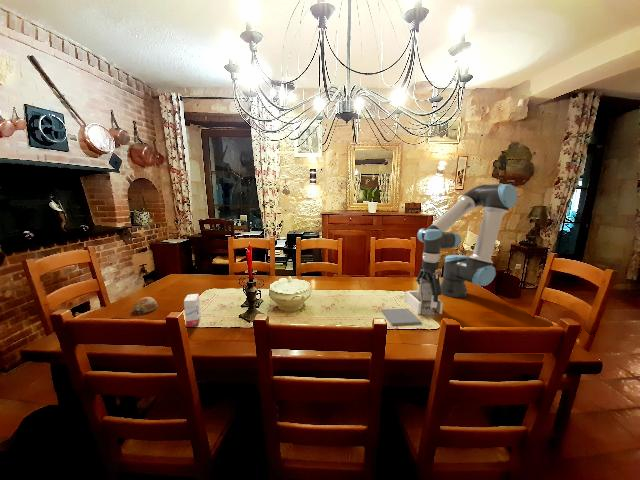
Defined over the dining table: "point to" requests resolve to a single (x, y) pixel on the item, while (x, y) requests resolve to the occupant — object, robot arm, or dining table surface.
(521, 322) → the dining table surface
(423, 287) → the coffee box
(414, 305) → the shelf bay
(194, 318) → the ink box
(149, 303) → the grey brown rock
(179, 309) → the dining table surface
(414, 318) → the slate pad
